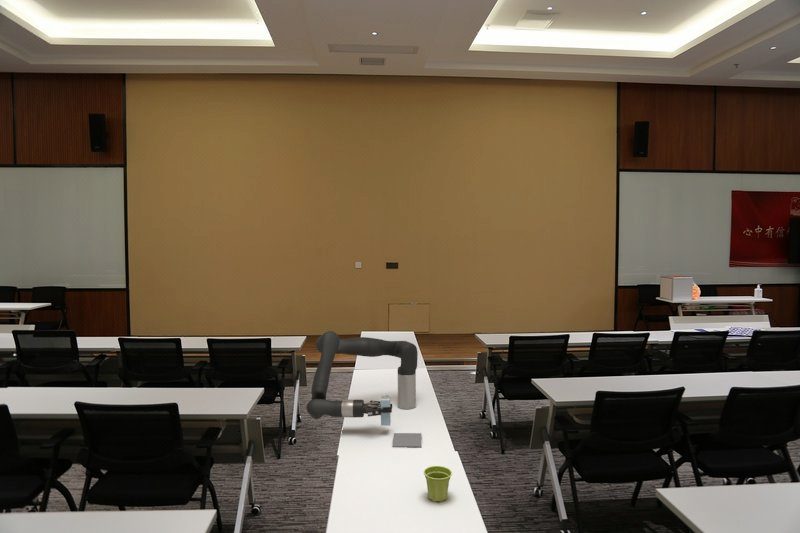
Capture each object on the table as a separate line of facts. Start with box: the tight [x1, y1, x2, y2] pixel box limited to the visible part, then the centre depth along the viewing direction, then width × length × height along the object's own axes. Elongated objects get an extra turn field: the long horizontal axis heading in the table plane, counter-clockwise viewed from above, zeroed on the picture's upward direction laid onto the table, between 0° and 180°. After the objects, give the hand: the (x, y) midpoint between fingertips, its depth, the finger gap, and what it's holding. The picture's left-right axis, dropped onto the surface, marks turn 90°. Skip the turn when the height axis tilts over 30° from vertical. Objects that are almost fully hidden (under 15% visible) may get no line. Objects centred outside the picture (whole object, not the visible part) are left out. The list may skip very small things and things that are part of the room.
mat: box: [392, 432, 423, 449], centre depth 218 cm, size 14×12×1 cm
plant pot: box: [423, 465, 453, 502], centre depth 170 cm, size 9×9×9 cm
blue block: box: [379, 395, 392, 427], centre depth 224 cm, size 4×4×12 cm
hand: (391, 408), depth 224 cm, fingers closed on blue block, 4 cm apart
